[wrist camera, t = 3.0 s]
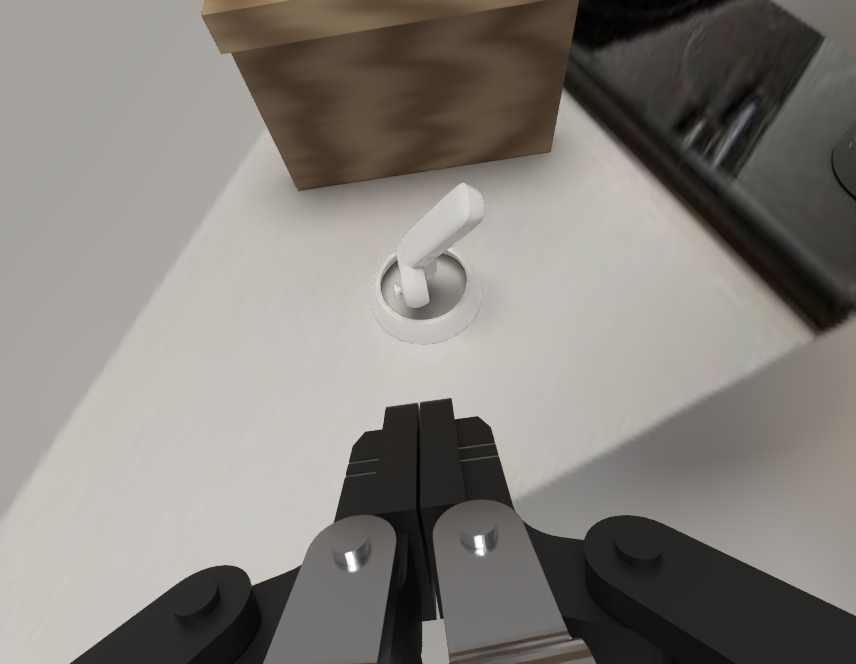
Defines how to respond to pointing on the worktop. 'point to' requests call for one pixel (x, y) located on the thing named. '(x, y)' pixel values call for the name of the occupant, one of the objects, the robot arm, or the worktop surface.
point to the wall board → (398, 80)
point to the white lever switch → (432, 270)
